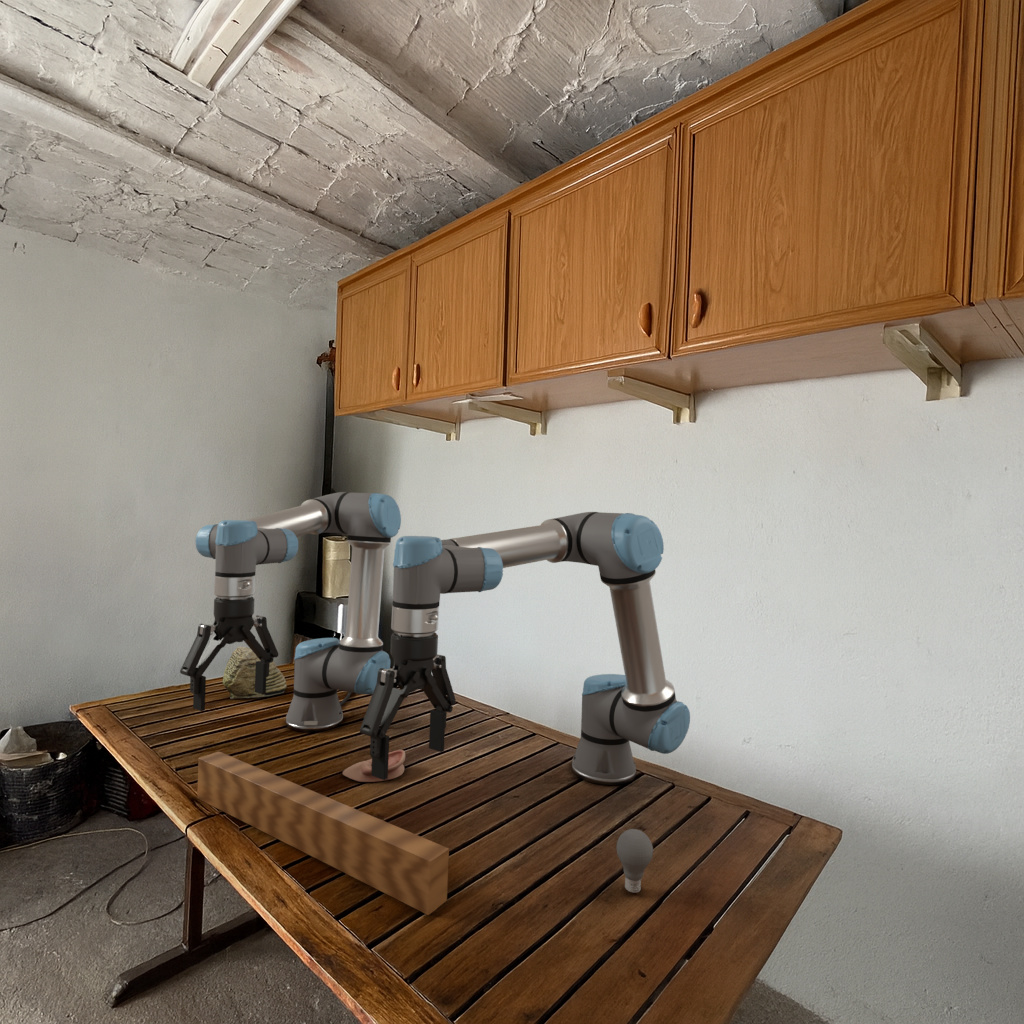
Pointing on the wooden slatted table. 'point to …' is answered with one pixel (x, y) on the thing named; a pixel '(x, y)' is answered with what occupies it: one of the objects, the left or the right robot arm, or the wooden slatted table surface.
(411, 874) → the beam
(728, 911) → the wooden slatted table surface
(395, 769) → the anatomical model
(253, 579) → the left robot arm
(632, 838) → the light bulb
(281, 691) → the fossil
